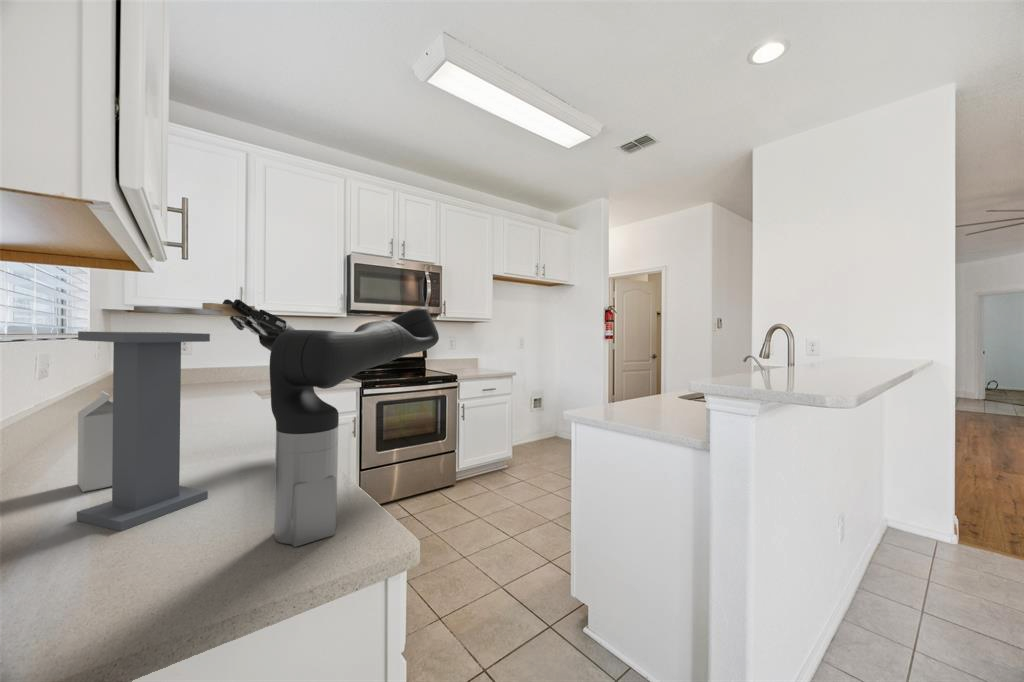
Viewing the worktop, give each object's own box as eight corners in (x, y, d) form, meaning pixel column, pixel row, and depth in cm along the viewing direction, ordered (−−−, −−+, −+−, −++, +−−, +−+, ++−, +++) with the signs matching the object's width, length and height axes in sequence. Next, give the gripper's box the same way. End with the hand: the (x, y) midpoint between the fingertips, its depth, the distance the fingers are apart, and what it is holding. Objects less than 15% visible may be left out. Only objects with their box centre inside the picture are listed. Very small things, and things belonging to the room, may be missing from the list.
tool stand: (167, 490, 83) (168, 332, 82) (207, 498, 80) (209, 333, 79) (76, 520, 69) (78, 331, 69) (121, 531, 66) (123, 333, 66)
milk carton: (82, 493, 81) (83, 396, 80) (77, 484, 85) (77, 392, 85) (131, 483, 86) (132, 393, 86) (123, 475, 91) (124, 389, 90)
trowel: (240, 316, 95) (240, 306, 94) (260, 316, 93) (260, 306, 93) (133, 311, 74) (133, 298, 74) (157, 311, 73) (157, 298, 73)
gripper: (270, 328, 107) (213, 288, 92) (313, 329, 103) (262, 288, 88) (257, 353, 103) (196, 317, 89) (301, 356, 99) (246, 317, 85)
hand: (229, 303), depth 89 cm, fingers closed on trowel, 2 cm apart
